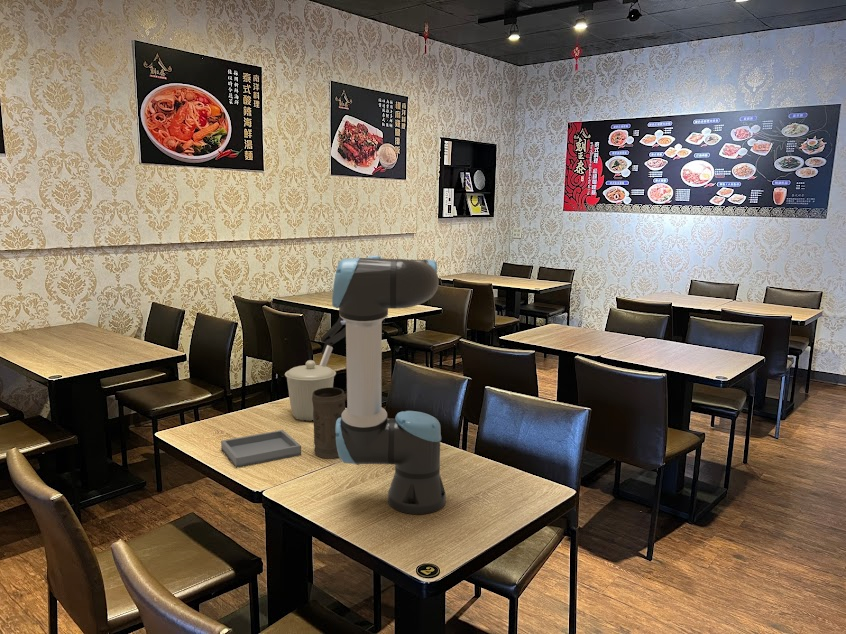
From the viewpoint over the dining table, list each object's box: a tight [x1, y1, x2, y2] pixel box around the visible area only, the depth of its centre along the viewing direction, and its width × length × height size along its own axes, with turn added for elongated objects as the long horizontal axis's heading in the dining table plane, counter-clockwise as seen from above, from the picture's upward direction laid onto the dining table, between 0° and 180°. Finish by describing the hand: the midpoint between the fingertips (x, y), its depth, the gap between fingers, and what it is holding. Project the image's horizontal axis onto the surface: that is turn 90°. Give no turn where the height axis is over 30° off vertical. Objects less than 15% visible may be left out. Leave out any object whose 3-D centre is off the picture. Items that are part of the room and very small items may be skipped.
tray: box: [220, 429, 302, 469], centre depth 194 cm, size 16×20×3 cm
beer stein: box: [312, 387, 347, 459], centre depth 196 cm, size 15×11×20 cm
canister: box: [284, 359, 337, 422], centre depth 227 cm, size 18×18×21 cm
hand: (341, 372), depth 190 cm, fingers open, 13 cm apart
